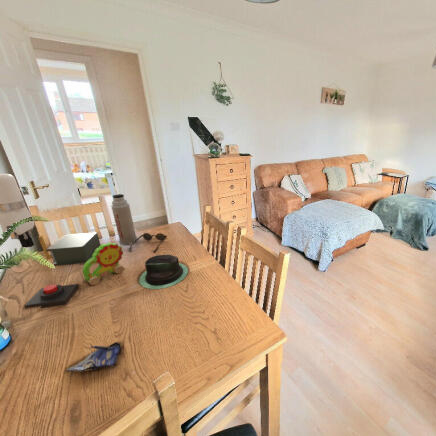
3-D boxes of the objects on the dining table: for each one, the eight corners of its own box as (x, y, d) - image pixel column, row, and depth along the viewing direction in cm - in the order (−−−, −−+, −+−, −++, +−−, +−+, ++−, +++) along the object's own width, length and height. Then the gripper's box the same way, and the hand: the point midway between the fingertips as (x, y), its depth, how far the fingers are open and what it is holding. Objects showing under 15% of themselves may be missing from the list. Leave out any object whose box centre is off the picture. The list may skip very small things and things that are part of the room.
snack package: (92, 345, 76) (58, 381, 65) (90, 330, 74) (55, 365, 63) (130, 351, 77) (104, 388, 66) (130, 336, 74) (103, 372, 64)
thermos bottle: (124, 246, 132) (112, 198, 122) (117, 241, 137) (106, 195, 126) (139, 241, 139) (129, 195, 128) (132, 237, 143) (122, 192, 132)
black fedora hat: (134, 292, 97) (138, 268, 114) (180, 299, 108) (178, 276, 124) (149, 261, 96) (151, 240, 112) (194, 271, 106) (190, 251, 123)
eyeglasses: (167, 240, 141) (166, 232, 140) (155, 253, 128) (154, 244, 126) (142, 239, 140) (140, 232, 139) (127, 252, 127) (125, 244, 125)
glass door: (47, 263, 112) (37, 237, 107) (56, 255, 118) (46, 230, 113) (55, 262, 113) (46, 236, 108) (64, 254, 119) (55, 230, 114)
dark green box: (52, 266, 112) (45, 249, 109) (70, 249, 126) (64, 234, 123) (87, 262, 117) (82, 246, 113) (101, 246, 131) (97, 232, 127)
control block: (26, 310, 87) (22, 301, 86) (43, 292, 96) (39, 284, 94) (66, 304, 91) (63, 296, 89) (79, 288, 100) (76, 280, 98)
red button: (42, 294, 90) (41, 291, 89) (48, 288, 93) (46, 285, 92) (54, 293, 91) (52, 289, 90) (59, 287, 94) (58, 283, 93)
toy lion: (91, 287, 100) (81, 256, 95) (84, 283, 102) (74, 252, 97) (129, 268, 114) (122, 240, 108) (122, 265, 116) (115, 237, 110)
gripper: (13, 200, 100) (29, 239, 107) (-18, 213, 86) (3, 256, 93) (35, 199, 102) (50, 237, 109) (9, 211, 89) (27, 254, 96)
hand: (28, 246), depth 101 cm, fingers closed
